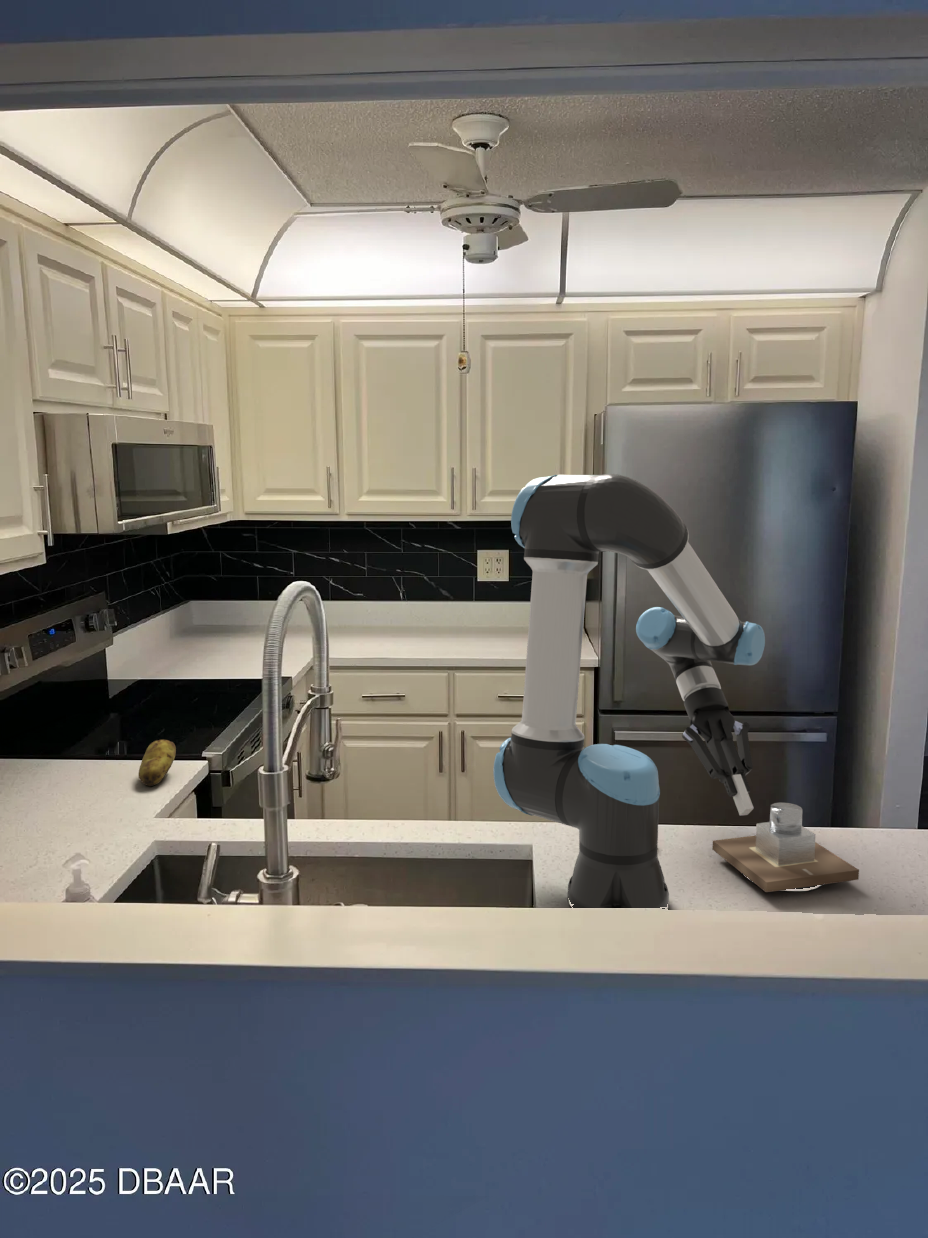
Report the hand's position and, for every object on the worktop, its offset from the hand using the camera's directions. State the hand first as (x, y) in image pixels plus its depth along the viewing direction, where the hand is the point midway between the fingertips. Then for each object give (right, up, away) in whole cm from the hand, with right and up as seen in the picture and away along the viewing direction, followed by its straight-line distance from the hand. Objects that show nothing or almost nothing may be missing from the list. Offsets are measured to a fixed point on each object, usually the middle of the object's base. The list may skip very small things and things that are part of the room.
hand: (746, 811), depth 149 cm
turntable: (+3, -6, -10) cm, 12 cm away
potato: (-117, -2, +42) cm, 125 cm away
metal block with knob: (+3, -5, -11) cm, 12 cm away
